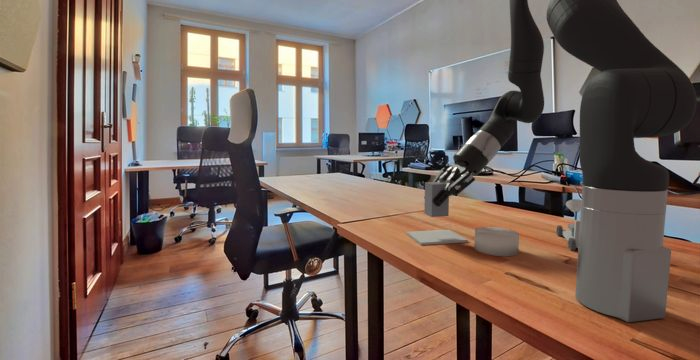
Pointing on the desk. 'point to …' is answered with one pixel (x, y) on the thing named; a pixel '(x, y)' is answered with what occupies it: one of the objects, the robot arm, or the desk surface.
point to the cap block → (430, 194)
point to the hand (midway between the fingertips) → (431, 202)
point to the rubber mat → (436, 237)
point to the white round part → (496, 241)
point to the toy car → (571, 226)
